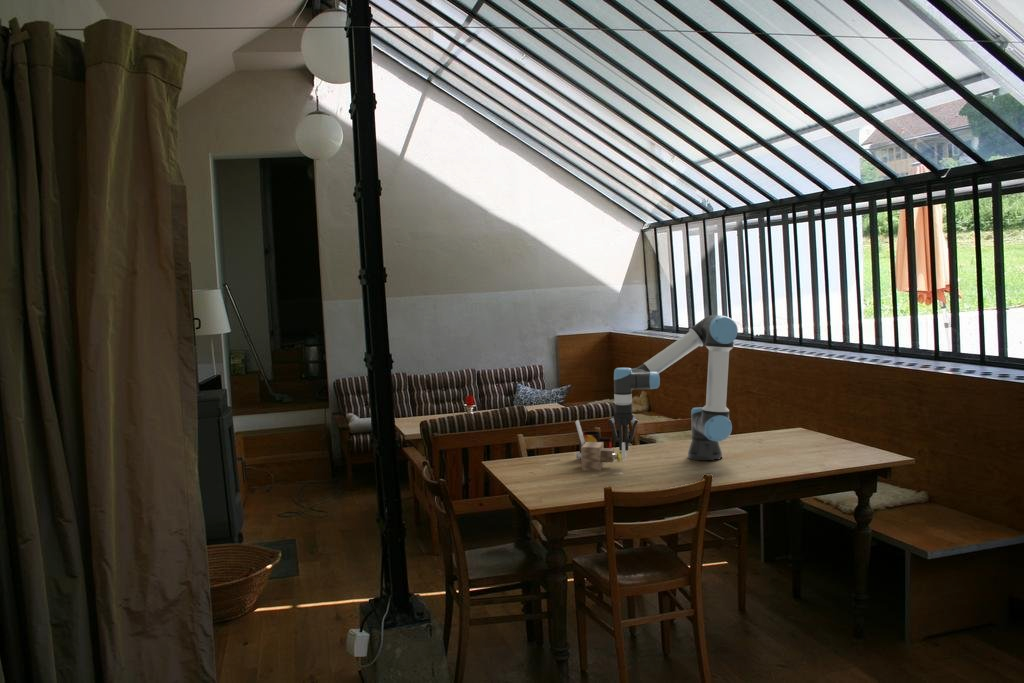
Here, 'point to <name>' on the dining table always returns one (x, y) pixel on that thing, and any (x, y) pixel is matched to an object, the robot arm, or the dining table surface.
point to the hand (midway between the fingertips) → (624, 457)
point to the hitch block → (595, 455)
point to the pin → (616, 456)
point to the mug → (593, 438)
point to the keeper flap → (580, 431)
